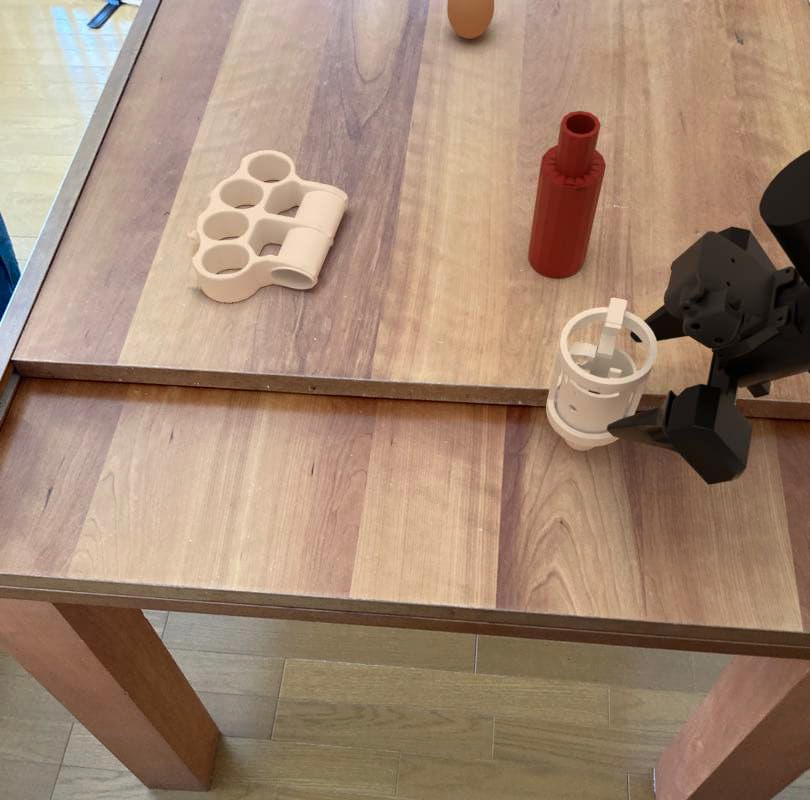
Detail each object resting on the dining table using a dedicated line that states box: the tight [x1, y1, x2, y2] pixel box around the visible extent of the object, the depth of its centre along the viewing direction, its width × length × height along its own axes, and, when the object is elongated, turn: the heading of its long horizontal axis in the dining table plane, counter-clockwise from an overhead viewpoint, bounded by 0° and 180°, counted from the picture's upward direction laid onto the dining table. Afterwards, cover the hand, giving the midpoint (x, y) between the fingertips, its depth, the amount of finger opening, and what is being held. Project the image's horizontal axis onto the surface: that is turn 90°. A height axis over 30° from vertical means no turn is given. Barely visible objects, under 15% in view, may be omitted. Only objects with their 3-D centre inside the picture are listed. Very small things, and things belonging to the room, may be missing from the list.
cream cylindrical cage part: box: [545, 297, 659, 452], centre depth 66 cm, size 7×7×15 cm
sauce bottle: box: [527, 110, 607, 279], centre depth 75 cm, size 6×6×15 cm
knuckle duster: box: [185, 149, 350, 304], centre depth 83 cm, size 3×18×15 cm
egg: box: [446, 0, 495, 40], centre depth 94 cm, size 5×5×7 cm
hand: (621, 382), depth 63 cm, fingers open, 9 cm apart
